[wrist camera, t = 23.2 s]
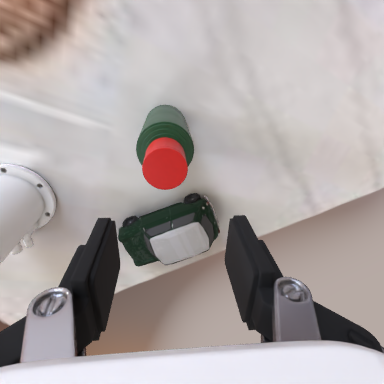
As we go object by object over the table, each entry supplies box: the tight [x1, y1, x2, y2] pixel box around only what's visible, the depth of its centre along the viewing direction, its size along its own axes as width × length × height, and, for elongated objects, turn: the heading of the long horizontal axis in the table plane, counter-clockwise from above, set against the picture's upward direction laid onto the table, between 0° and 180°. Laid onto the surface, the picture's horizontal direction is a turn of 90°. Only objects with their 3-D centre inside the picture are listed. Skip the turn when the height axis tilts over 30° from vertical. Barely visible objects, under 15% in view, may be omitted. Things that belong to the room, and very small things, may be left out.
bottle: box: [136, 105, 194, 167], centre depth 31 cm, size 6×6×18 cm
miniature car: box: [118, 193, 220, 266], centre depth 43 cm, size 9×18×8 cm, turn 110°
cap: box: [142, 137, 188, 190], centre depth 24 cm, size 4×4×4 cm
